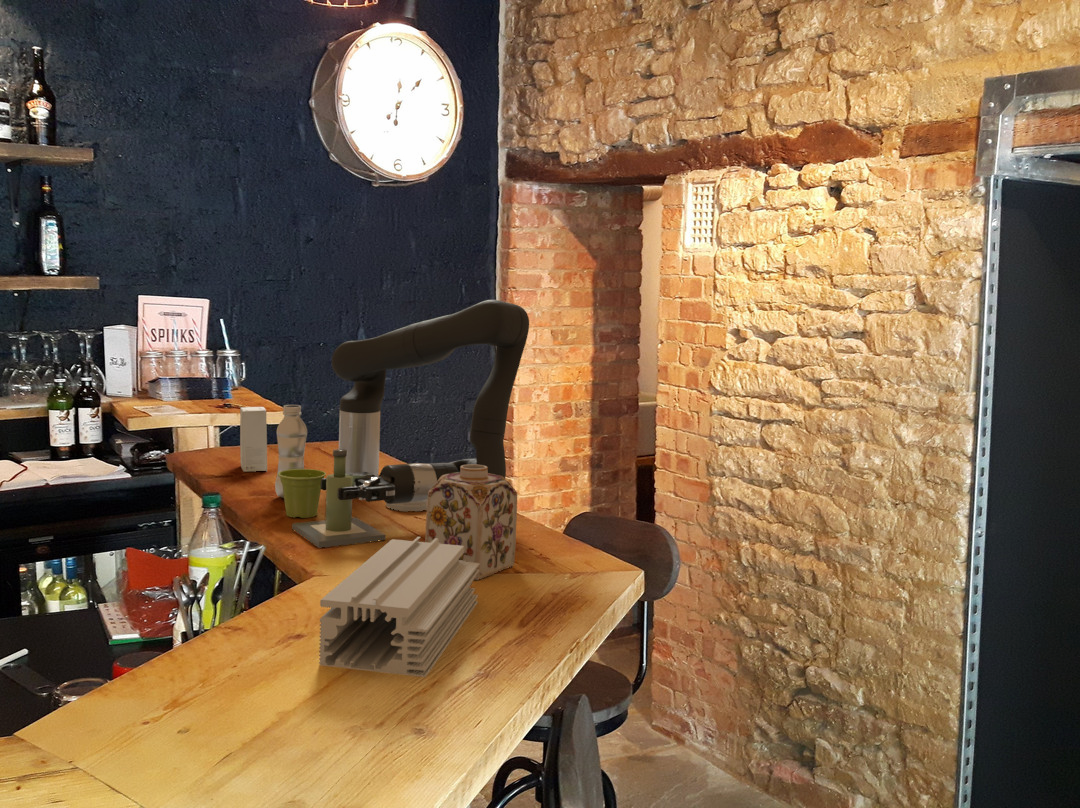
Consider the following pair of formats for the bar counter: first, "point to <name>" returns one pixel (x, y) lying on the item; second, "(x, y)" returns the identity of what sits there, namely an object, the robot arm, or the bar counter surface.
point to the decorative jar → (475, 517)
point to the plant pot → (301, 491)
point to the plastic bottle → (290, 443)
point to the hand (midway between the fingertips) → (329, 489)
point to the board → (337, 533)
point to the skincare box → (253, 439)
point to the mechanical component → (409, 506)
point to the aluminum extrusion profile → (398, 609)
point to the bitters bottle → (335, 508)
